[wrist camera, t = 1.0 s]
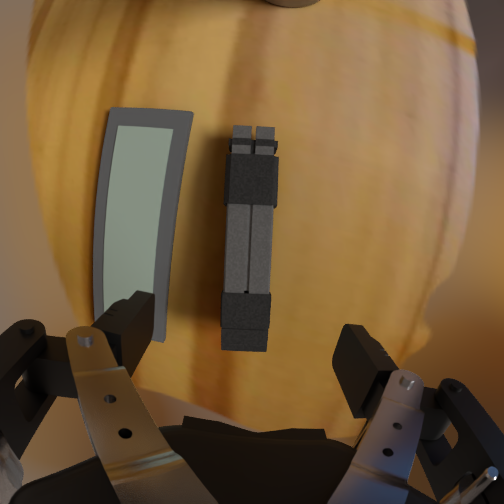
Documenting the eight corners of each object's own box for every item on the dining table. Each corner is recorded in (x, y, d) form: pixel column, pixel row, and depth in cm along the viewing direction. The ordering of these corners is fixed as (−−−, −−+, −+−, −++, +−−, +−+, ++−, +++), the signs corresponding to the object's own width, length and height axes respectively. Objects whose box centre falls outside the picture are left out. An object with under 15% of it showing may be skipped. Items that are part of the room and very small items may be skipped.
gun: (223, 335, 32) (215, 359, 22) (232, 164, 34) (228, 123, 24) (263, 337, 32) (272, 361, 22) (270, 166, 34) (279, 125, 24)
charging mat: (114, 109, 26) (109, 107, 24) (193, 113, 26) (191, 111, 25) (98, 321, 32) (94, 326, 30) (165, 338, 32) (163, 343, 31)
